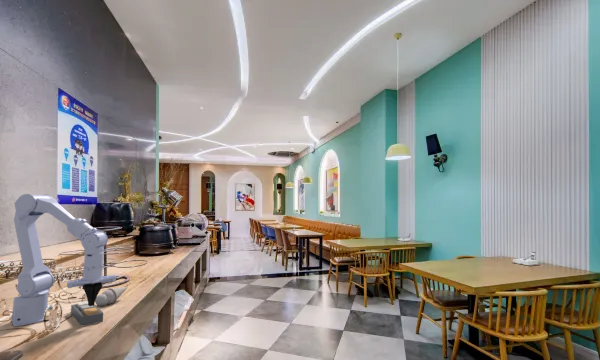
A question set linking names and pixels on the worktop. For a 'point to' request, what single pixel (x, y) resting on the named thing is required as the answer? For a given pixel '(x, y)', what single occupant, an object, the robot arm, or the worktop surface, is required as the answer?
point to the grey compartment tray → (86, 316)
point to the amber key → (90, 311)
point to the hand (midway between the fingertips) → (91, 305)
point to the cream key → (82, 303)
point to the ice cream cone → (109, 296)
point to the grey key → (85, 307)
